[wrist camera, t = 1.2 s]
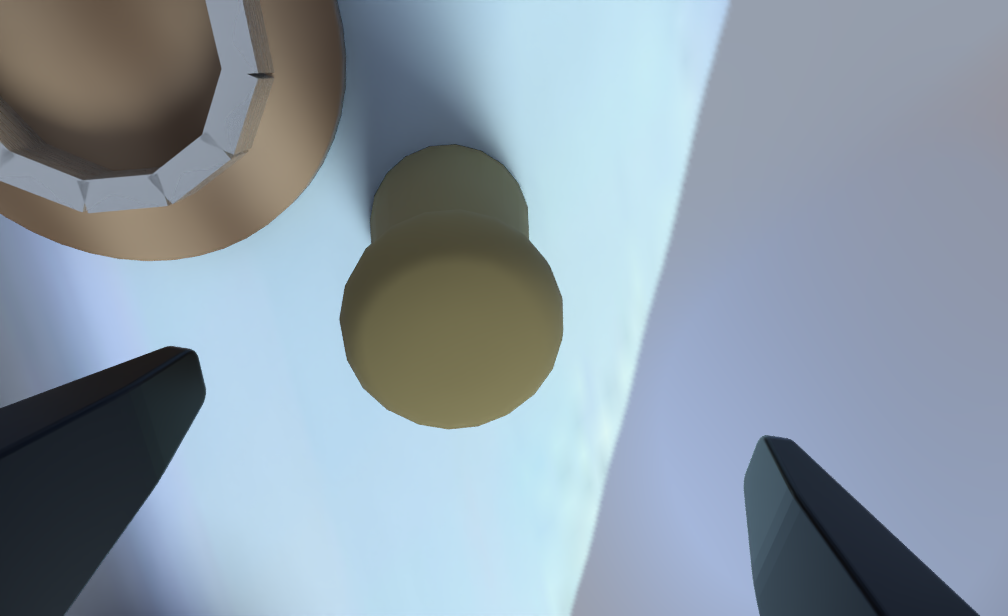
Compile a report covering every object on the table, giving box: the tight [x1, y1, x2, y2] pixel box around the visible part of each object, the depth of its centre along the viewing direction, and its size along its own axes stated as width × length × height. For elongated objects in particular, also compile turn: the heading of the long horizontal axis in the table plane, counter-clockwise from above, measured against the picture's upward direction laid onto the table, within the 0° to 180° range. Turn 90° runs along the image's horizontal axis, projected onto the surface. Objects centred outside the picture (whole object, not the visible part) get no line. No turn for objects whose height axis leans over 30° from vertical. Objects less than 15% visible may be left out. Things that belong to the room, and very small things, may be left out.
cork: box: [339, 144, 563, 429], centre depth 17 cm, size 6×6×11 cm
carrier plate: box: [0, 0, 346, 261], centre depth 19 cm, size 14×14×1 cm
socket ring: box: [0, 0, 275, 213], centre depth 17 cm, size 10×10×2 cm
